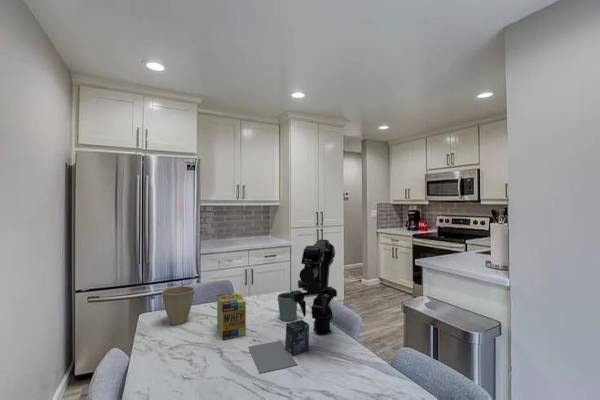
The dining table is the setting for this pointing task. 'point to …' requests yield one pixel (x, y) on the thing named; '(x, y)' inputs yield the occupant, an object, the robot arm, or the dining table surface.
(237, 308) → the protein box
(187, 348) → the dining table surface
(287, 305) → the drinking glass
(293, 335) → the box
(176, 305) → the plant pot
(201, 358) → the dining table surface
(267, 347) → the mat
